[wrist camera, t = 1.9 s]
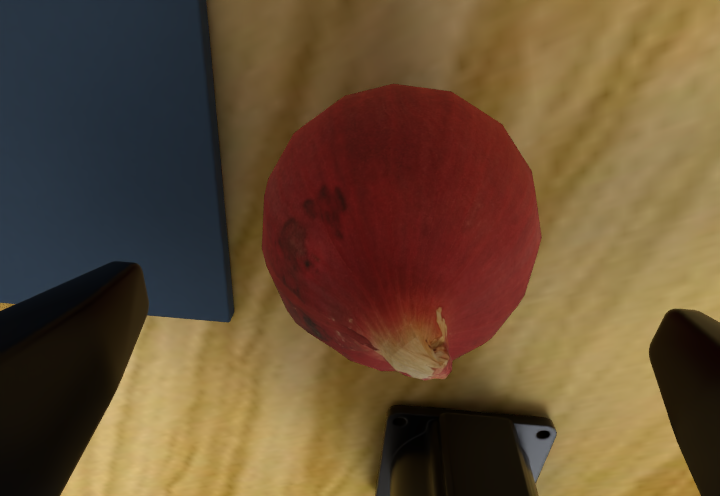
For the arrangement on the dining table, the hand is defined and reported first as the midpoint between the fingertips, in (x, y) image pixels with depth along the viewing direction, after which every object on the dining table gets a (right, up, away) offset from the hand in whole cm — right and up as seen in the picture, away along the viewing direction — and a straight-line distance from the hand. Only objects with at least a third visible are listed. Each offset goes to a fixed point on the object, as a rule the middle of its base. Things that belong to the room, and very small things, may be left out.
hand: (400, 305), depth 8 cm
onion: (0, +4, +5) cm, 7 cm away
